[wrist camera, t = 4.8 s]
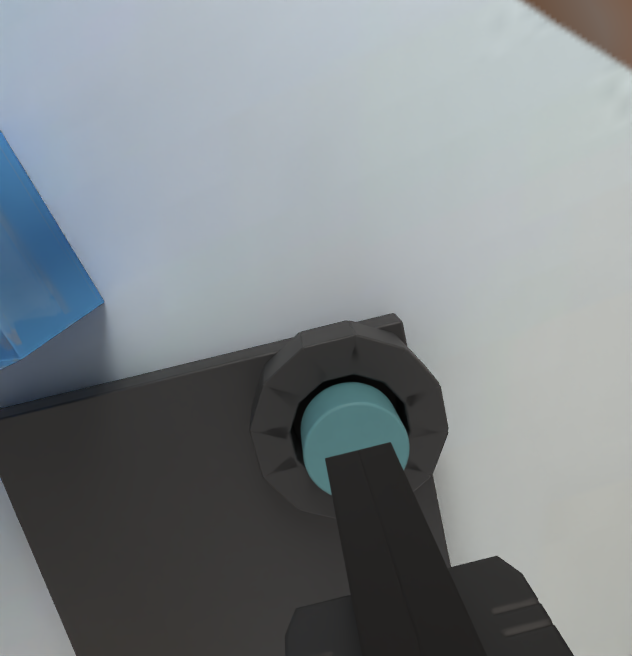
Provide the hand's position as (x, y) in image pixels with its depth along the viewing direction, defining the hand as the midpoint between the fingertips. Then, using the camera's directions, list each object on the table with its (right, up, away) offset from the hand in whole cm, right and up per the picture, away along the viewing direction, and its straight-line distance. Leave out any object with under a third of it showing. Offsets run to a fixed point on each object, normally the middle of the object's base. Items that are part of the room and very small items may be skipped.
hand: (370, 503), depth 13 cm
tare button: (0, +1, +5) cm, 5 cm away
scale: (-4, -3, +8) cm, 9 cm away
